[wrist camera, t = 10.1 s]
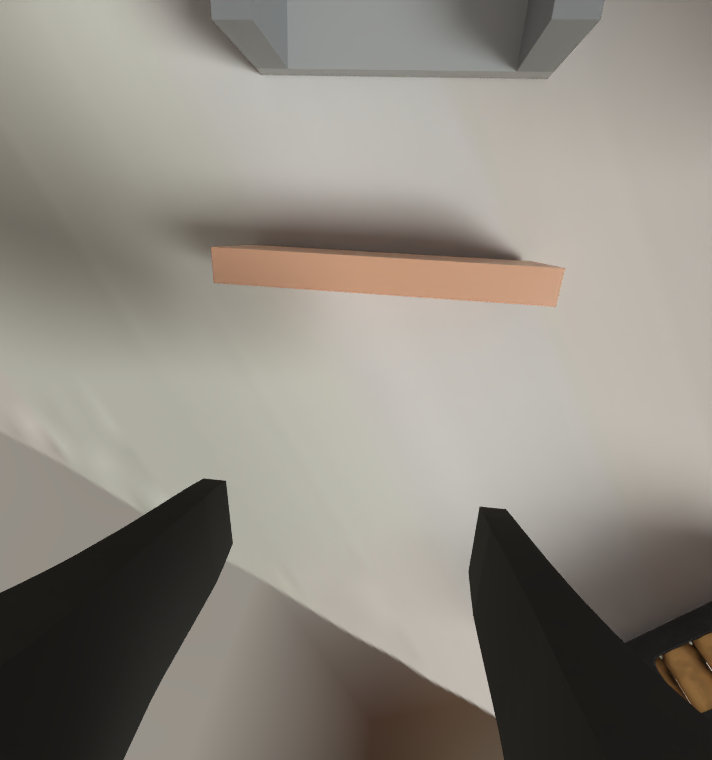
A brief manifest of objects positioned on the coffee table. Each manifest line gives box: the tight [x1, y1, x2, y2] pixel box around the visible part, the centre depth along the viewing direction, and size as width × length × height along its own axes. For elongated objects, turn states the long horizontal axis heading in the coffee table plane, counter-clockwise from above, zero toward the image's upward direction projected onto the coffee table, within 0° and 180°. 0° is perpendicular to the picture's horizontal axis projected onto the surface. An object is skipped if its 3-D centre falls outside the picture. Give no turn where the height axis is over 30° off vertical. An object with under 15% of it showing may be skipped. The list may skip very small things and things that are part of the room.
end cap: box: [211, 245, 565, 307], centre depth 14 cm, size 12×1×4 cm, turn 87°
